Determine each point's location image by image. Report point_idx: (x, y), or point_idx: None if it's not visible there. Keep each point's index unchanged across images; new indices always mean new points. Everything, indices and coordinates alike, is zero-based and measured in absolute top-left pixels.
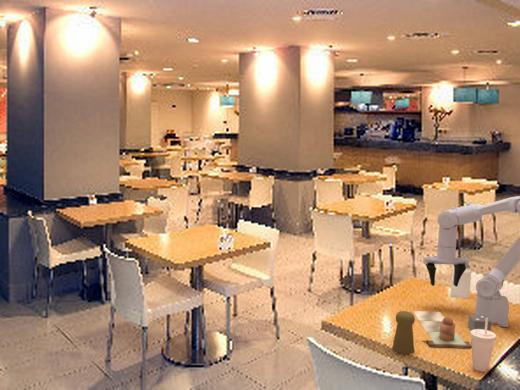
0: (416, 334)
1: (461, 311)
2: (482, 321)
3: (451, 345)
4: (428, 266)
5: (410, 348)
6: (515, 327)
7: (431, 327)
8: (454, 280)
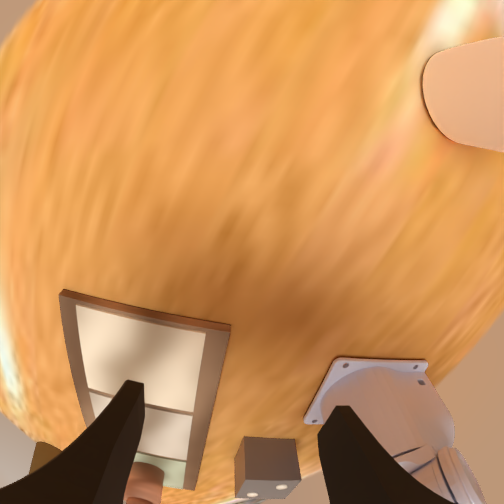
0: (79, 426)
1: (347, 292)
2: (259, 498)
3: None
4: None
5: None
6: None
7: None
8: (341, 445)
